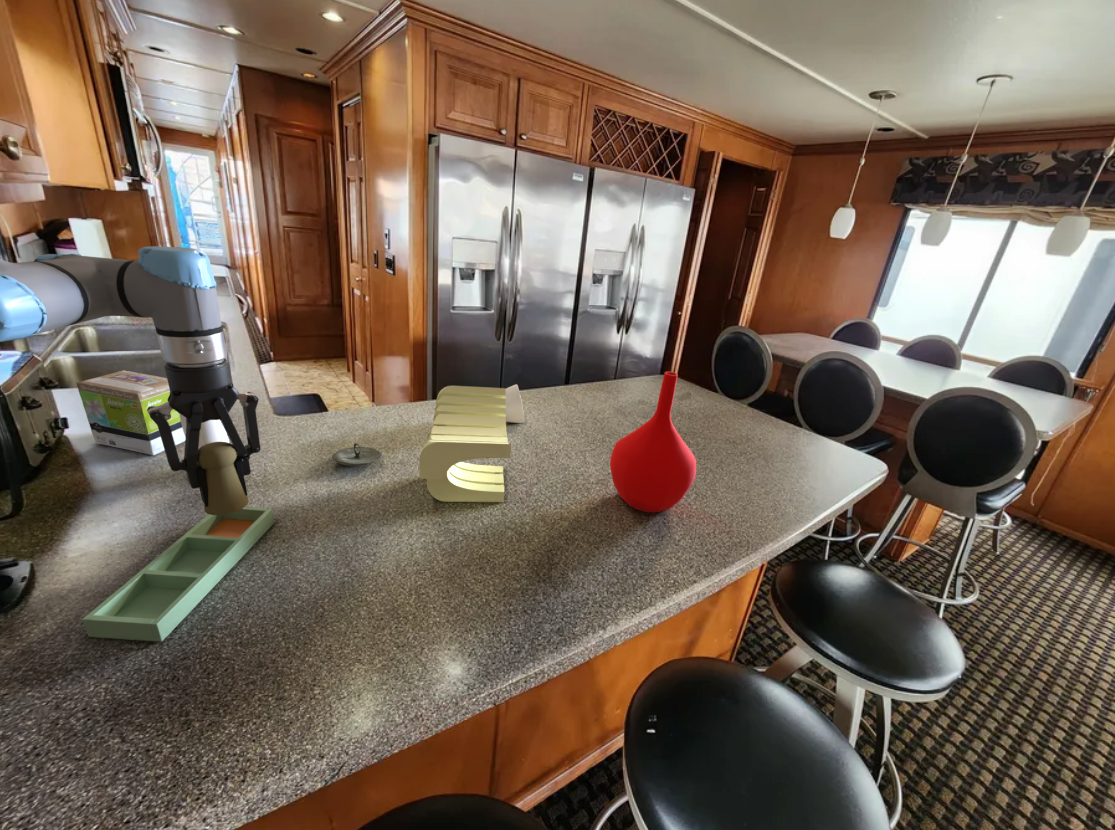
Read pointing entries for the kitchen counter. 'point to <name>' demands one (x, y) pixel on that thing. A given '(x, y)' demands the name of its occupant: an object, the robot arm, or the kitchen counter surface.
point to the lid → (357, 456)
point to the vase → (654, 459)
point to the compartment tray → (178, 577)
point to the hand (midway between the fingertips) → (224, 497)
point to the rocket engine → (514, 405)
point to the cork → (221, 478)
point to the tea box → (128, 410)
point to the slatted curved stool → (466, 445)
